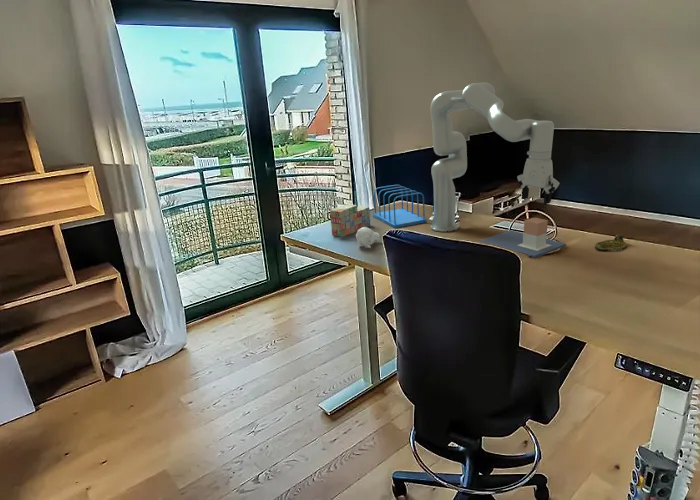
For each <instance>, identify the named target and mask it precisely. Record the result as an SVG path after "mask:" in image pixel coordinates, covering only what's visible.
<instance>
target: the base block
mask: <svg viewBox="0 0 700 500" xmlns="http://www.w3.org/2000/svg"><path fill="white" fill-rule="evenodd" d="M522 233H523V245H524V246H528V247H531V248H535V249H536V248H539V247H542V246H545V245H546V239H547V234H548V232H547V233H545V234H542V235H539V236H534V235H530V234H526V233H524V232H522Z"/></svg>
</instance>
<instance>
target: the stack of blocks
mask: <svg viewBox="0 0 700 500" xmlns="http://www.w3.org/2000/svg"><path fill="white" fill-rule="evenodd" d="M329 212H330V213H329V215H330V224H331V235H332V236H335V237H340V238H343V237H346V236H348V235H351V234H353V233H356V232H357V231H358V230H359V229H361V228H362V227H366V228H368V227H369V226H371V213H370V206H363V205H357V204H352V203H351V204H349V203H346V204H343V205H340V206H338V207H335V208H332V209H330V210H329Z"/></svg>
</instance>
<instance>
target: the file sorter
mask: <svg viewBox="0 0 700 500" xmlns="http://www.w3.org/2000/svg"><path fill="white" fill-rule="evenodd" d="M383 188H384V189H383ZM378 189H381V190H380V191H379V192H378V209H379V210H378V212H377V206H376V205H377V204H376V191H377V190H378ZM389 190H390V191H389ZM383 191H386V192H385V193H384V194H383V195H382V196H383V197H382V198H383V199H382V201H383V203H382V204H383V211H381V198H380V197H381V192H383ZM399 191H400V192H399ZM388 193H391V194H390V195H389V196H388V210H386V206H385V205H386V204H385V203H386V202H385V200H386V199H385V196H386V194H388ZM400 194H401V195H400ZM394 195H398V196H396V197H394V199H393V209H391V203H390V202H391V200H390V199H391V197H392V196H394ZM415 195H416V200H417V201H416V202H417V203H416V204H417V207H416V208H417V212H416V213H417V214H416V213H414V196H415ZM419 195H421V197H422V216H420V213H419V212H420V211H419V210H420V208H419V205H420V204H419ZM409 196H411V211H410V210H409V199H408V198H409ZM404 197H406V209H405V208H404V201H403V198H404ZM398 198H401V208H397V209H396V200H397V199H398ZM373 201H374V203H373V204H374V213H373V217H374V218H376V219H377V220H379V221H381V222H383V224H386V225H388V226H389V227H392V228H393V229H398V228H402V227H403V228H404V227H407V226H409V227H410V226H413V225H419V224H424V223H427V222H428V221H427V218H425V217H426V214H425V213H426V212H425V196H424V194H423V193H422V192H418V191H416V190H412V189H411V188H407V187H405V186H402V185H400V184H393V185H386V186H385V185H384V186H380V187H376V188H375V189H374V191H373Z"/></svg>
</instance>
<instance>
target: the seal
mask: <svg viewBox="0 0 700 500" xmlns="http://www.w3.org/2000/svg"><path fill="white" fill-rule="evenodd" d="M594 248H595V250H596V251H598V252H606V253H615V252H620V251H623V250H625V249H627V243H626V241H624V235H623V233H617V234H616V235H615V236H614V239H606V240H603V241H599V242H596V244H595V245H594Z"/></svg>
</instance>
